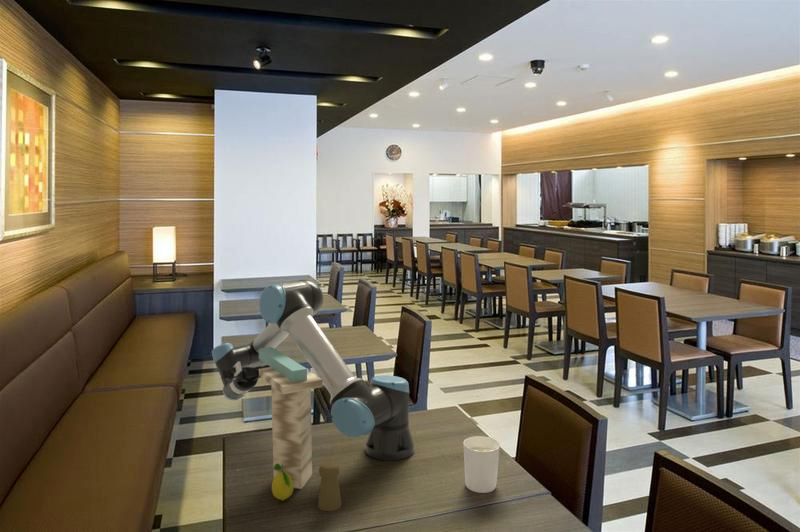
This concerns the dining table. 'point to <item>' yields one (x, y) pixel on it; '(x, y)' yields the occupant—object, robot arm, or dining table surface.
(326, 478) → the cork
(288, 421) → the stand
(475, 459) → the candle holder
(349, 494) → the dining table surface
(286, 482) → the lemon
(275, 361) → the bar
